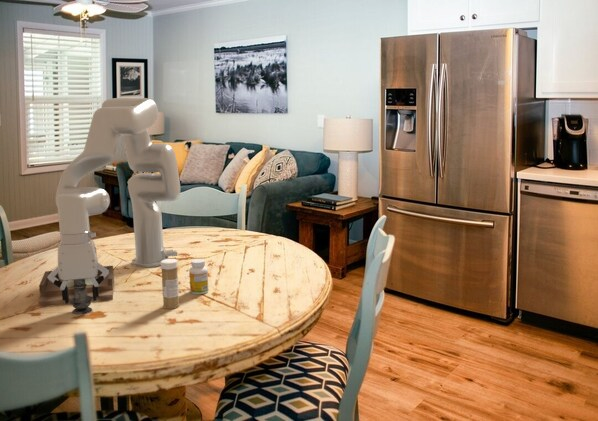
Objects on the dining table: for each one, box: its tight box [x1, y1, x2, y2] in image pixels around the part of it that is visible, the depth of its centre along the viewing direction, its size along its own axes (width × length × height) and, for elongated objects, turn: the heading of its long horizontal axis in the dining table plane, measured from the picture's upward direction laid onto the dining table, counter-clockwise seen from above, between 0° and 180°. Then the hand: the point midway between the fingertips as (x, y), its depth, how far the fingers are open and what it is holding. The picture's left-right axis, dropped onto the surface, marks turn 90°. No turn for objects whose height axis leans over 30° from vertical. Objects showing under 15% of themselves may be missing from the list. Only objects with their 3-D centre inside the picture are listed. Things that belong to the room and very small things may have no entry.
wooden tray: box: [37, 265, 115, 308], centre depth 178 cm, size 20×18×5 cm
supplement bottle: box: [189, 258, 209, 295], centre depth 178 cm, size 5×5×10 cm
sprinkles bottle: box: [160, 258, 180, 310], centre depth 165 cm, size 5×5×14 cm
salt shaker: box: [70, 279, 93, 316], centre depth 163 cm, size 6×6×12 cm
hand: (81, 300), depth 163 cm, fingers open, 6 cm apart
